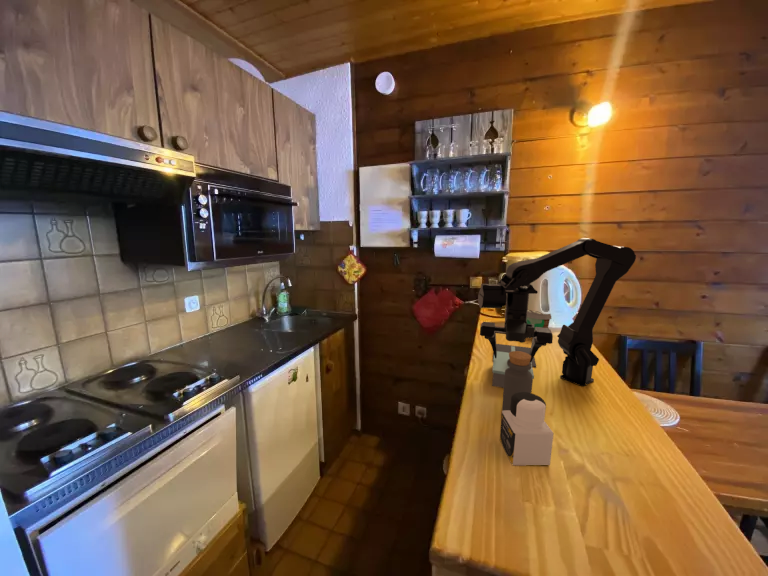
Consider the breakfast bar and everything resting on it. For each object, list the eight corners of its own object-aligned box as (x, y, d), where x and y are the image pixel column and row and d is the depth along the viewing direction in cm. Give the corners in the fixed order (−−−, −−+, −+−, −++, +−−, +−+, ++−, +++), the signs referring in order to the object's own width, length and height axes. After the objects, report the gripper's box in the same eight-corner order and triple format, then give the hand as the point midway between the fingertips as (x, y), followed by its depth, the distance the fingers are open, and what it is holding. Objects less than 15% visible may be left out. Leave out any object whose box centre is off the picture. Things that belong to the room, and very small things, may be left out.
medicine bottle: (499, 440, 65) (503, 387, 63) (533, 441, 65) (539, 388, 63) (511, 466, 58) (516, 407, 56) (550, 466, 58) (557, 408, 56)
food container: (513, 331, 133) (515, 308, 131) (524, 329, 135) (525, 306, 133) (538, 340, 122) (541, 315, 120) (549, 338, 124) (552, 314, 122)
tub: (493, 365, 100) (494, 353, 100) (528, 370, 97) (529, 358, 96) (492, 385, 88) (493, 372, 87) (531, 392, 84) (532, 378, 83)
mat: (494, 344, 118) (494, 343, 118) (532, 349, 113) (532, 347, 113) (492, 361, 103) (492, 360, 103) (536, 367, 99) (536, 366, 99)
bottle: (501, 418, 73) (506, 358, 70) (501, 405, 78) (506, 348, 75) (529, 423, 71) (535, 361, 68) (527, 409, 76) (532, 351, 73)
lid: (493, 355, 100) (495, 338, 99) (529, 360, 96) (531, 343, 95) (492, 375, 87) (493, 356, 86) (533, 381, 83) (535, 362, 82)
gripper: (480, 312, 84) (476, 366, 87) (558, 319, 77) (552, 377, 80) (482, 303, 94) (479, 351, 97) (552, 308, 88) (546, 360, 91)
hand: (512, 360), depth 91 cm, fingers open, 9 cm apart
